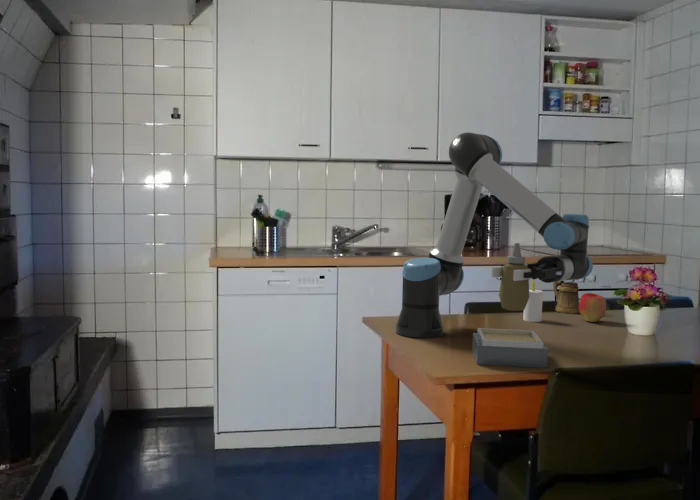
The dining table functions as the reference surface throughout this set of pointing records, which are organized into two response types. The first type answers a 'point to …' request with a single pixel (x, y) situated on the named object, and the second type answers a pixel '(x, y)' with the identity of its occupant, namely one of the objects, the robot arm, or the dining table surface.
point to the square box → (509, 348)
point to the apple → (592, 307)
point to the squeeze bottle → (514, 283)
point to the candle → (533, 305)
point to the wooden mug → (567, 297)
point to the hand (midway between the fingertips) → (503, 273)
